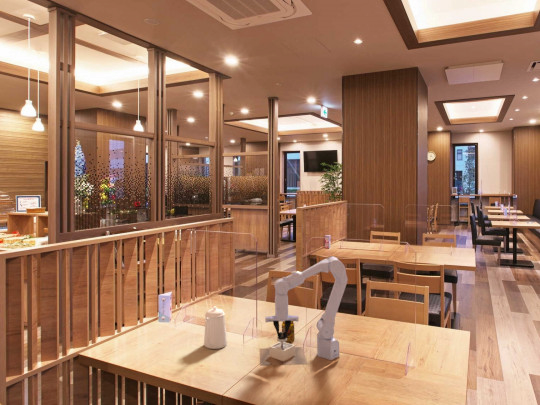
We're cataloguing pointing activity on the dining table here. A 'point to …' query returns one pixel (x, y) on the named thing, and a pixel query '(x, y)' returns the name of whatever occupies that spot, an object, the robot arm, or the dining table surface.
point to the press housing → (282, 352)
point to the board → (267, 360)
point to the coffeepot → (215, 329)
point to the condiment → (289, 332)
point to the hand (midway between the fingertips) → (282, 337)
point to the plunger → (282, 339)
